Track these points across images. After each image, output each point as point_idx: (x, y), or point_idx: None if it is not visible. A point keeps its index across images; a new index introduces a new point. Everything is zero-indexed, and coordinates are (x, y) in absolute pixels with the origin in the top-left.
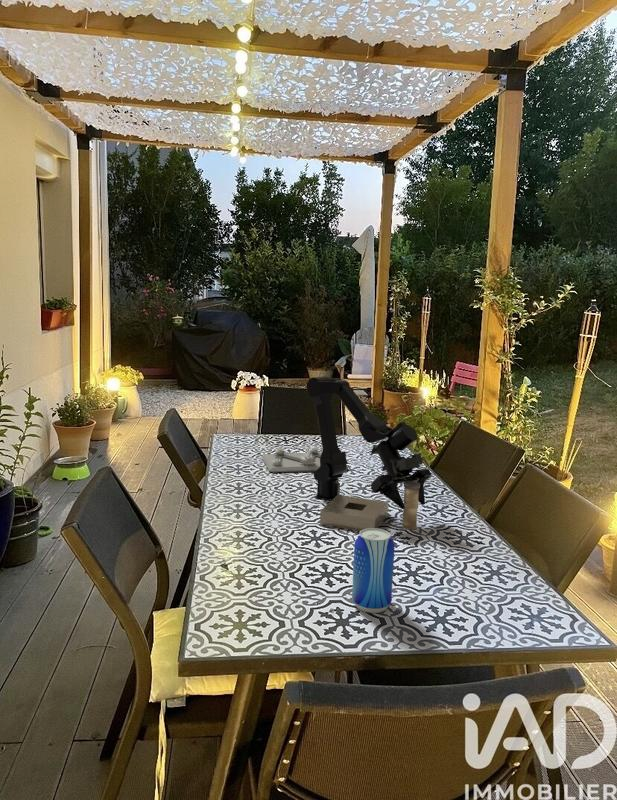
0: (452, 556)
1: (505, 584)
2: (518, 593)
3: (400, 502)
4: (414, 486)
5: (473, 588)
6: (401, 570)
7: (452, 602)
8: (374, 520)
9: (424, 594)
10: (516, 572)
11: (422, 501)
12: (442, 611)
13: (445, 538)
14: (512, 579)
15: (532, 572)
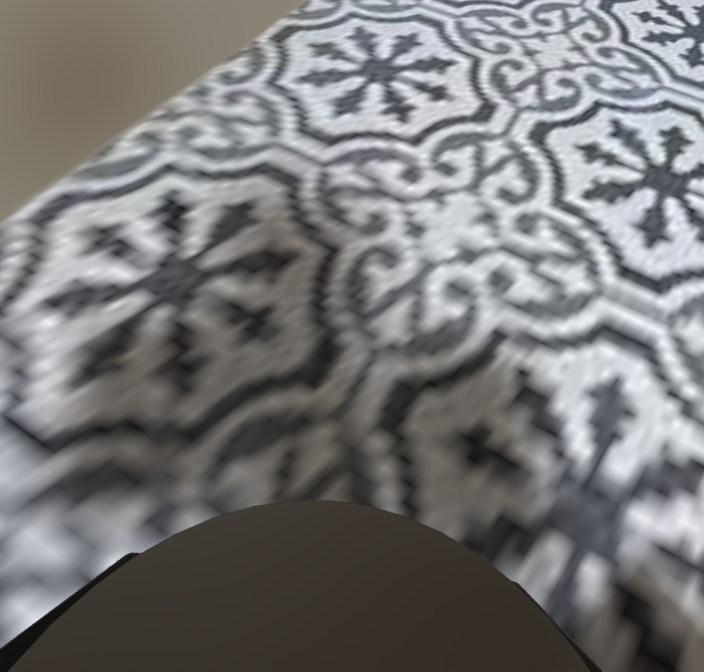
0: (414, 188)
1: (415, 33)
2: (424, 7)
3: (581, 657)
4: (439, 532)
5: (521, 58)
6: (697, 210)
7: (627, 51)
8: None
9: (686, 97)
10: (315, 46)
11: None
12: (676, 45)
13: (270, 323)
14: (369, 36)
15: (272, 28)
